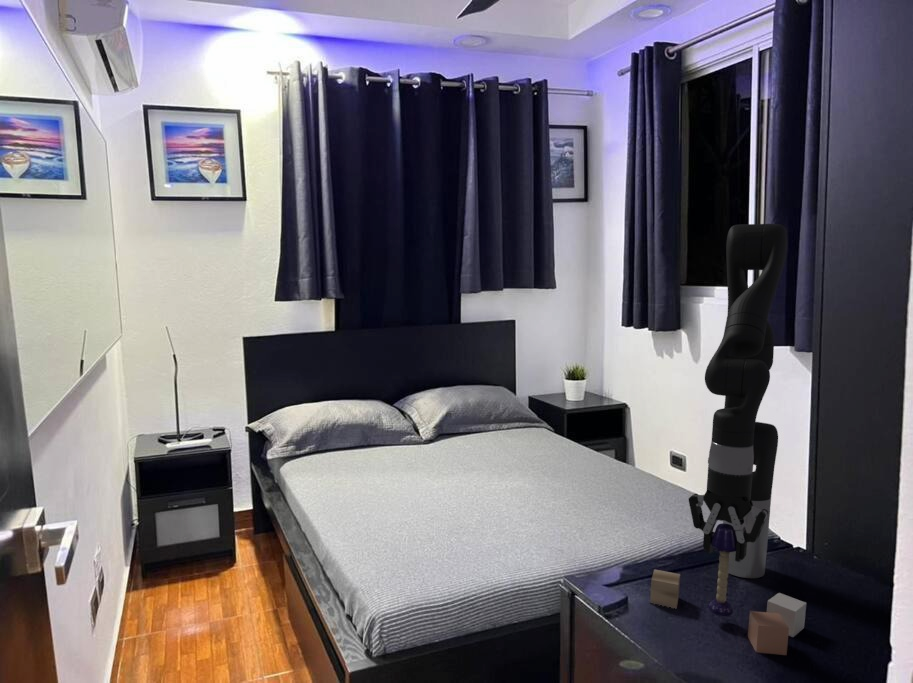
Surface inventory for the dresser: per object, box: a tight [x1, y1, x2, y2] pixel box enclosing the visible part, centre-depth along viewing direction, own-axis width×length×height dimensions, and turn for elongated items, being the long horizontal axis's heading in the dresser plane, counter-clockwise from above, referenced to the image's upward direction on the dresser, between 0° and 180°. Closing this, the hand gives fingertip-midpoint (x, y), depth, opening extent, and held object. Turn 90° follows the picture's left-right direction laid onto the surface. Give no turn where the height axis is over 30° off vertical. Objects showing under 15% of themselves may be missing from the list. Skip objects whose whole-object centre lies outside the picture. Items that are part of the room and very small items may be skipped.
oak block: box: [649, 569, 681, 610], centre depth 135 cm, size 5×5×5 cm
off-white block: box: [766, 592, 807, 638], centre depth 126 cm, size 5×5×5 cm
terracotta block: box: [747, 610, 789, 656], centre depth 120 cm, size 5×5×5 cm
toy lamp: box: [708, 522, 737, 617], centre depth 126 cm, size 5×5×17 cm
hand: (723, 555), depth 126 cm, fingers closed on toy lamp, 4 cm apart
